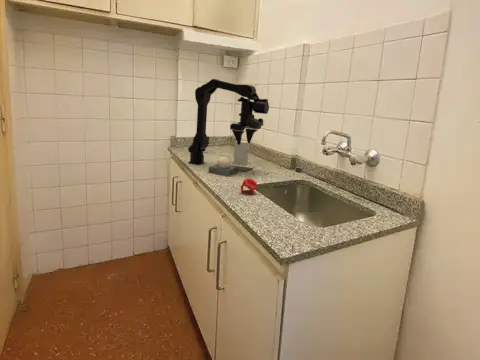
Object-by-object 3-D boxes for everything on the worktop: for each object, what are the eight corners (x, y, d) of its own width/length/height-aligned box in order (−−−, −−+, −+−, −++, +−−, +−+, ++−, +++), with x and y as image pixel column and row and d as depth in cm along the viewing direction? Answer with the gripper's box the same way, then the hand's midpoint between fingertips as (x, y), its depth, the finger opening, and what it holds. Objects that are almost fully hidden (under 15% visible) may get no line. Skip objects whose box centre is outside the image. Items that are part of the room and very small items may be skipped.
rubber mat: (229, 169, 160) (230, 168, 160) (236, 166, 168) (237, 165, 168) (246, 172, 157) (246, 171, 157) (252, 169, 165) (252, 168, 165)
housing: (208, 172, 151) (208, 166, 150) (218, 168, 161) (219, 163, 160) (229, 176, 147) (229, 170, 146) (238, 172, 157) (238, 166, 156)
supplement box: (245, 165, 174) (247, 142, 171) (232, 163, 175) (234, 141, 172) (248, 162, 181) (250, 141, 178) (235, 161, 182) (237, 139, 179)
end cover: (214, 172, 152) (215, 157, 150) (220, 169, 158) (221, 155, 156) (226, 174, 150) (227, 159, 148) (232, 171, 155) (233, 157, 153)
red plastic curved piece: (255, 189, 118) (261, 178, 122) (241, 181, 119) (247, 171, 123) (250, 200, 125) (256, 190, 128) (237, 193, 126) (244, 183, 129)
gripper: (251, 113, 139) (248, 148, 144) (270, 113, 155) (267, 144, 159) (230, 111, 145) (228, 144, 149) (251, 111, 160) (248, 141, 164)
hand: (243, 143), depth 155 cm, fingers open, 9 cm apart
